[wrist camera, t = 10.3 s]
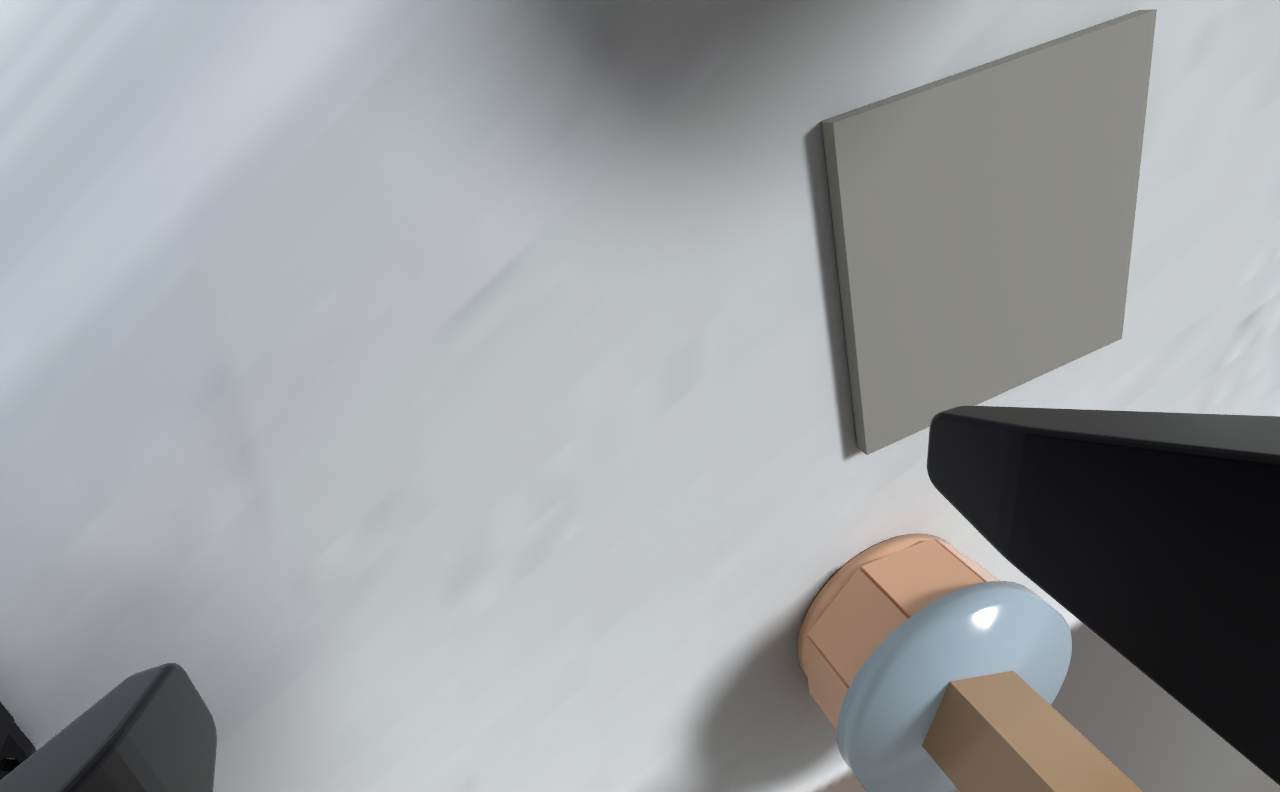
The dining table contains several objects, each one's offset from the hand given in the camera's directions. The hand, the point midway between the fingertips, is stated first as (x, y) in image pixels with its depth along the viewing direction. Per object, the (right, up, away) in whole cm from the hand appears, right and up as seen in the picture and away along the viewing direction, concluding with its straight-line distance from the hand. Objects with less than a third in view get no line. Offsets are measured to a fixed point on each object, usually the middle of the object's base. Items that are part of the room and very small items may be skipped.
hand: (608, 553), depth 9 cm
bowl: (+11, -8, +24) cm, 27 cm away
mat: (+13, +7, +17) cm, 22 cm away
